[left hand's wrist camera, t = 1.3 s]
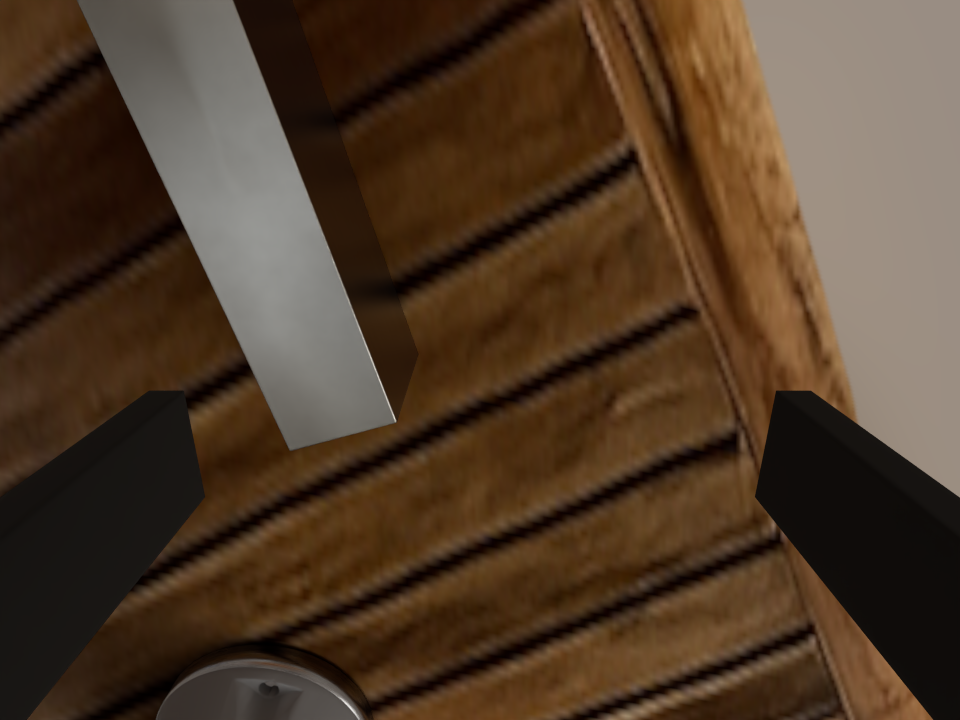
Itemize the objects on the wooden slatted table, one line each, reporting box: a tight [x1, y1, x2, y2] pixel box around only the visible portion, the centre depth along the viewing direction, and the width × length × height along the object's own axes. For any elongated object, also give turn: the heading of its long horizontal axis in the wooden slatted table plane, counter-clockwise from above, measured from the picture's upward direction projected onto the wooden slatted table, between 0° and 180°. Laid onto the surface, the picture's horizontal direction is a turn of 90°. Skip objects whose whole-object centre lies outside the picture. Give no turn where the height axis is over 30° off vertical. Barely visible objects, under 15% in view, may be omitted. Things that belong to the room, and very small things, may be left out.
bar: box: [77, 0, 418, 451], centre depth 24 cm, size 24×5×8 cm, turn 17°
